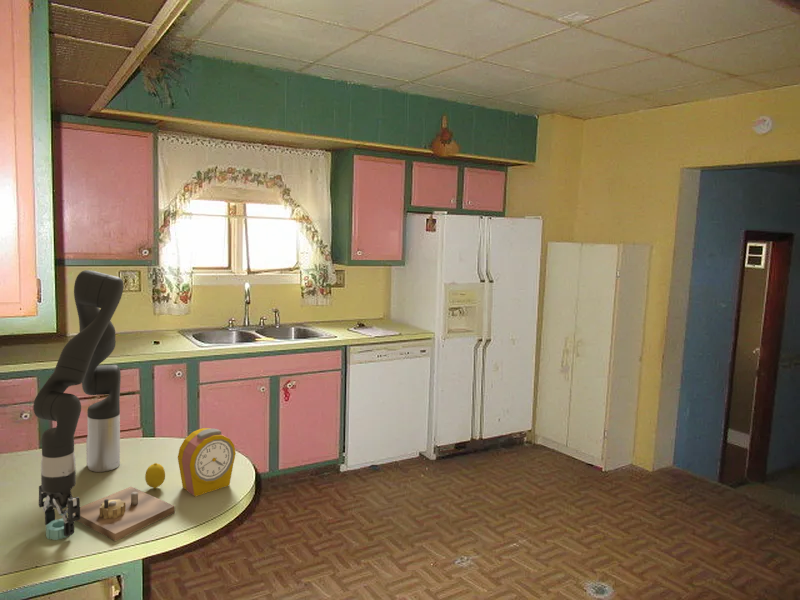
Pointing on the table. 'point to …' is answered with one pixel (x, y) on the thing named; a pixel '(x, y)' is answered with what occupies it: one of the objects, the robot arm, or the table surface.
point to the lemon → (155, 475)
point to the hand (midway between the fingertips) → (59, 529)
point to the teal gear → (55, 529)
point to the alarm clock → (206, 461)
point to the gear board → (124, 513)
